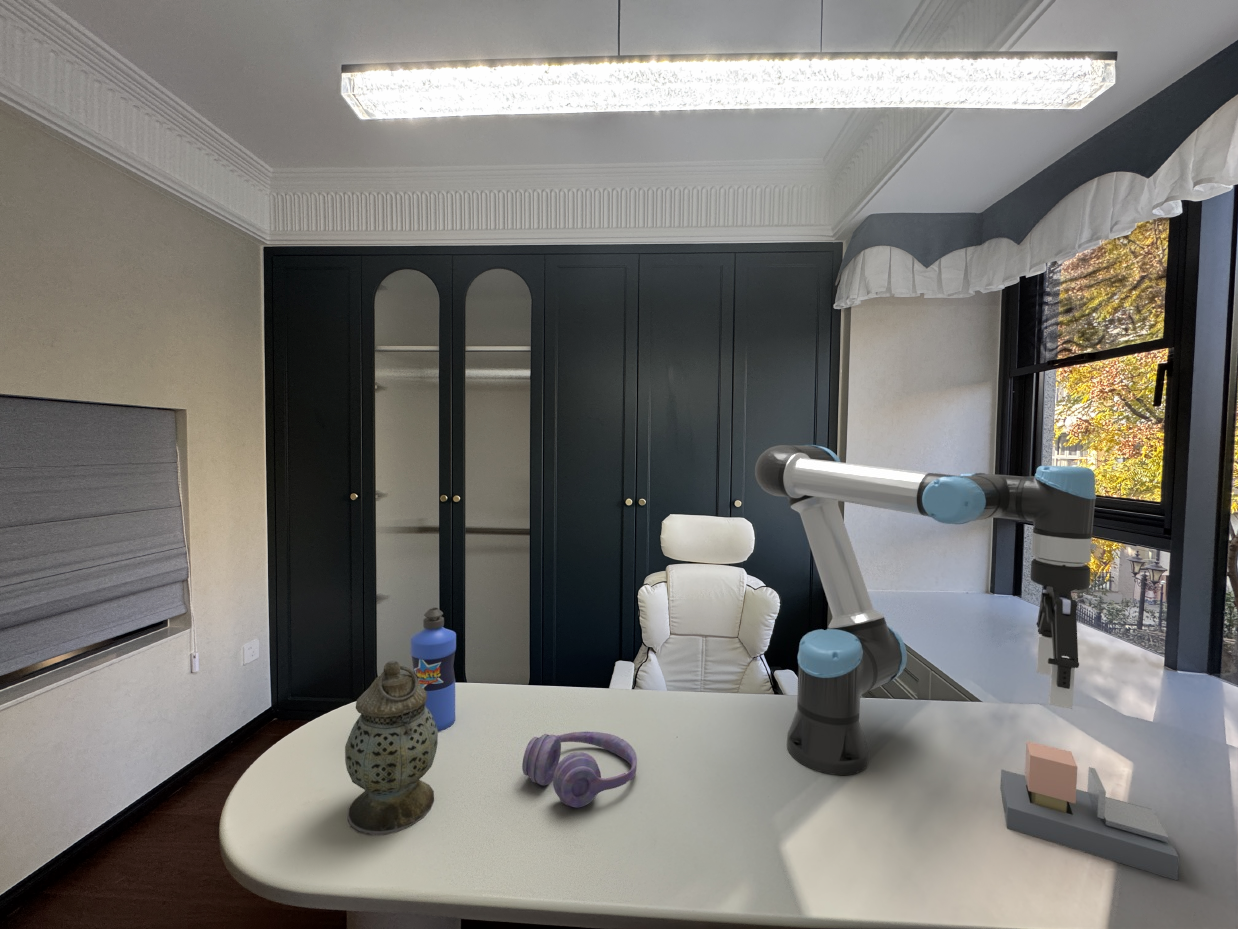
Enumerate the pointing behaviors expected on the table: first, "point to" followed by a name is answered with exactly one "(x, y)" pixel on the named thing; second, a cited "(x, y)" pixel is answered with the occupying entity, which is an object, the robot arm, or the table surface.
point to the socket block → (1083, 829)
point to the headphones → (575, 765)
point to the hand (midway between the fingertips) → (1052, 689)
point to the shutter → (1123, 812)
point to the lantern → (391, 754)
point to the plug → (1050, 776)
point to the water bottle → (436, 667)
